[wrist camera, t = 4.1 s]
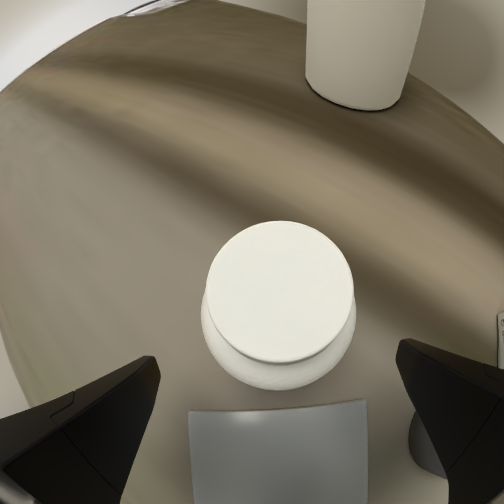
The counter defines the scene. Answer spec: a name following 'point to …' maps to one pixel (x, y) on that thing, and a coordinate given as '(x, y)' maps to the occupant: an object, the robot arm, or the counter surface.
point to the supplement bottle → (278, 306)
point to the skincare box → (501, 340)
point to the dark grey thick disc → (424, 448)
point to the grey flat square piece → (280, 455)
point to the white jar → (361, 49)
